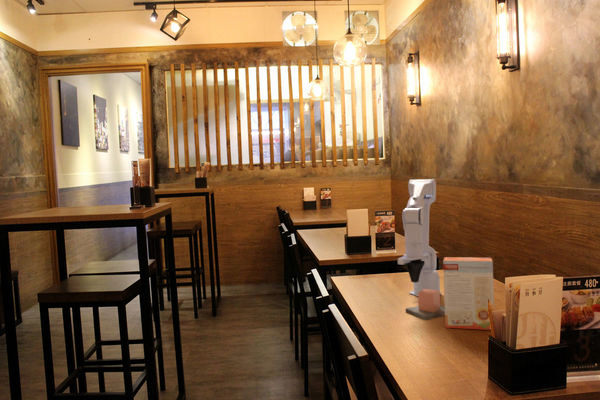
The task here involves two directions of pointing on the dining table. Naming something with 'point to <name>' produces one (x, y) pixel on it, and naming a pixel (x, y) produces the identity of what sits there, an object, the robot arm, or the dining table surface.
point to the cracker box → (468, 292)
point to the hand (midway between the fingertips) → (414, 281)
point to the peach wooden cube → (429, 300)
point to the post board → (426, 312)
